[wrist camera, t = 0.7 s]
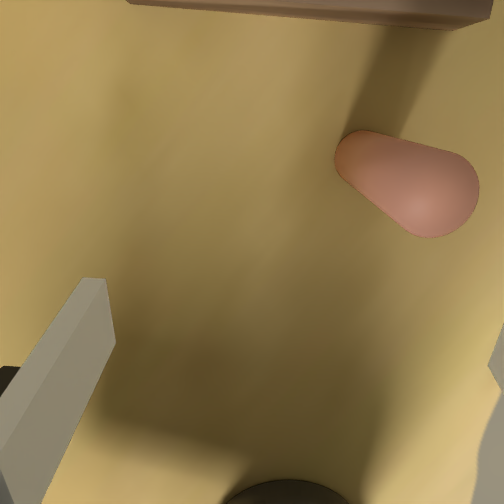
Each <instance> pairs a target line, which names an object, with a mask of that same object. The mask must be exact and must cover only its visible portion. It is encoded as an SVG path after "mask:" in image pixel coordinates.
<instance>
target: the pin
mask: <svg viewBox="0 0 504 504" xmlns="http://www.w3.org/2000/svg"><path fill="white" fill-rule="evenodd" d="M334 160H335V167H336V170H337V172H338V173H339V175H340V176H341V177H342V178H343V179H344V180H345V181H347V182H348V183H349V184H350V185H351V186H353V187H354V188H355V189H356V190H358V191H359V192H360V193H361V194H362V195H364V196H365V197H366V198H367V199H368V200H370V201H371V202H372V203H373V204H375V205H376V206H377V207H378V208H379V209H381V210H382V211H383V212H384V213H386V214H387V215H388V216H389V217H390V218H392V219H393V220H394V221H395V222H397V223H398V224H399V225H400V226H401V227H403V228H404V229H405V230H406V231H408V232H410V233H411V234H414V235H416V236H420V237H425V238H433V237H440V236H444V235H446V234H449V233H451V232H453V231H455V230H456V229H458V228H459V227H460V226H461V225H463V224H464V223H465V222H466V221H467V220H468V218H469V217H470V216H471V214H472V212H473V211H474V209H475V206H476V204H477V201H478V197H479V181H478V177H477V174H476V172H475V170H474V168H473V167H472V165H471V164H470V163H469V162H468V161H467V160H466V159H465V158H463V157H462V156H460V155H458V154H456V153H452V152H449V151H445V150H441V149H437V148H433V147H429V146H426V145H422V144H418V143H414V142H410V141H406V140H402V139H399V138H395V137H391V136H387V135H383V134H379V133H375V132H372V131H367V130H360V131H355V132H353V133H350V134H349V135H347V136H346V137H345V138H344V139H343V140H342V141H341V142H340V143H339V145H338V147H337V149H336V152H335V159H334Z"/></svg>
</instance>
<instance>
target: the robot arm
mask: <svg viewBox="0 0 504 504" xmlns="http://www.w3.org/2000/svg"><path fill="white" fill-rule="evenodd" d="M115 344H116V340H115V334H114V327H113V321H112V315H111V309H110V302H109V296H108V290H107V283H106V279H103V278H85V277H83V278H82V279H81V281H80V282H79V284H78V285H77V286H76V288H75V289H74V291H73V292H72V294H71V295H70V297H69V298H68V300H67V301H66V302H65V304H64V305H63V307H62V308H61V310H60V311H59V313H58V314H57V316H56V317H55V318H54V320H53V321H52V323H51V324H50V326H49V327H48V329H47V330H46V332H45V333H44V334H43V336H42V337H41V339H40V340H39V342H38V343H37V345H36V346H35V348H34V349H33V350H32V352H31V353H30V355H29V356H28V358H27V359H26V361H25V362H24V363H23V365H22V366H21V367H14V366H3V367H1V368H0V504H41V502H42V500H43V498H44V496H45V494H46V491H47V489H48V487H49V485H50V483H51V481H52V479H53V476H54V474H55V472H56V470H57V468H58V466H59V464H60V461H61V459H62V457H63V455H64V453H65V451H66V449H67V446H68V444H69V442H70V440H71V438H72V436H73V434H74V431H75V429H76V427H77V425H78V423H79V421H80V419H81V417H82V414H83V412H84V410H85V408H86V406H87V404H88V402H89V399H90V397H91V395H92V393H93V391H94V389H95V387H96V384H97V382H98V380H99V378H100V376H101V374H102V372H103V369H104V367H105V365H106V363H107V361H108V359H109V357H110V354H111V352H112V350H113V348H114V346H115ZM488 367H489V369H490V370H491V372H492V374H493V376H494V378H495V380H496V381H497V383H498V385H499V387H500V389H501V391H502V392H503V394H504V324H503V327H502V329H501V332H500V335H499V337H498V340H497V342H496V345H495V347H494V350H493V353H492V355H491V358H490V360H489V363H488ZM227 504H349V503H348V502H347V501H346V500H345V499H343V498H342V497H341V496H340V495H338V494H337V493H335V492H333V491H332V490H330V489H328V488H326V487H323V486H320V485H317V484H314V483H310V482H305V481H296V480H281V481H273V482H268V483H263V484H260V485H257V486H254V487H252V488H249V489H247V490H245V491H243V492H241V493H240V494H238V495H237V496H235V497H234V498H233V499H231V500H230V501H229V502H228V503H227Z"/></svg>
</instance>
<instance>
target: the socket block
mask: <svg viewBox="0 0 504 504" xmlns="http://www.w3.org/2000/svg"><path fill="white" fill-rule="evenodd" d="M126 1H127V2H129V3H130V4H137V5H149V6H161V7H173V8H185V9H197V10H210V11H222V12H234V13H246V14H258V15H270V16H282V17H294V18H306V19H318V20H330V21H342V22H354V23H366V24H378V25H390V26H402V27H414V28H427V29H439V30H451V31H453V30H456V29H459V28H462V27H465V26H468V25H471V24H474V23H477V22H481V21H484V20H487V19H490V14H491V9H492V5H493V0H126Z"/></svg>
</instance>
